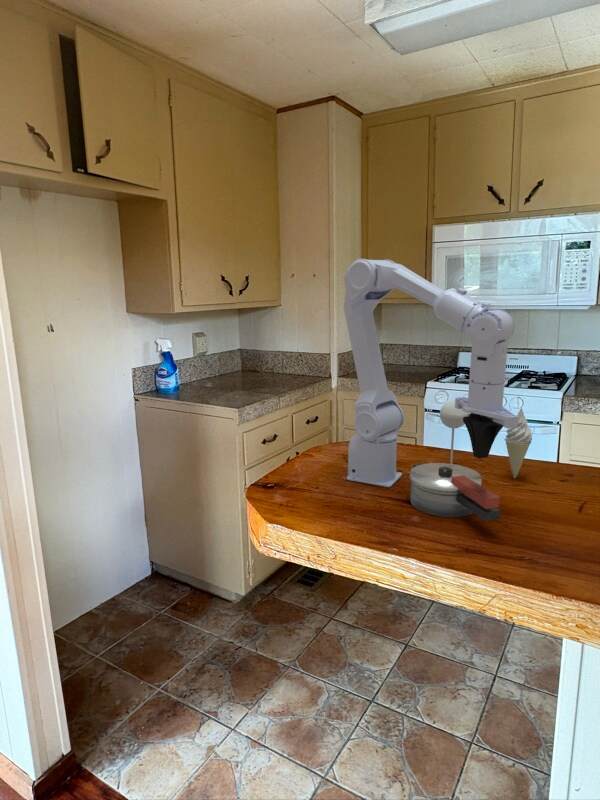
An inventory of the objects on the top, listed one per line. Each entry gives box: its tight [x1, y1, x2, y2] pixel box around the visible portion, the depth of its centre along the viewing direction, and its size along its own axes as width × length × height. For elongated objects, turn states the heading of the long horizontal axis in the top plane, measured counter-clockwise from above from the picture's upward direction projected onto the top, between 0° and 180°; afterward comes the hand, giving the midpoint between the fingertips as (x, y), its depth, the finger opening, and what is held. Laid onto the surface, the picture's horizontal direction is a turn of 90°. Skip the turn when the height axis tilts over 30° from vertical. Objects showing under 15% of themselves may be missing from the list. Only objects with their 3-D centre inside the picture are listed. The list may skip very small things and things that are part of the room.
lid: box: [409, 462, 501, 509], centre depth 92 cm, size 20×13×2 cm, turn 16°
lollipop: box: [439, 400, 470, 464], centre depth 113 cm, size 6×6×15 cm
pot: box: [409, 462, 501, 522], centre depth 95 cm, size 18×18×5 cm
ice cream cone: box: [504, 407, 533, 479], centre depth 107 cm, size 5×5×15 cm
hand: (480, 456), depth 93 cm, fingers closed
